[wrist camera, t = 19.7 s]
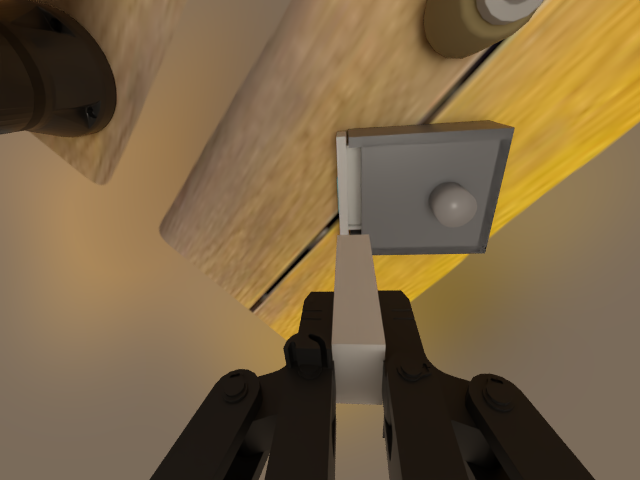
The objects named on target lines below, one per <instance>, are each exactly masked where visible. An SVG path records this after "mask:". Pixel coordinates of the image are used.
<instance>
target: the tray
mask: <svg viewBox="0 0 640 480" xmlns="http://www.w3.org/2000/svg"><path fill="white" fill-rule="evenodd" d="M336 144H337V169H338V177H337V192H338V213H339V218H340V235H349V231H348V230H356V229H361V194H360V184H361V147H359V148H349V143H346V131H340V132H337V135H336Z"/></svg>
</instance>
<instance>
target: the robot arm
mask: <svg viewBox="0 0 640 480" xmlns="http://www.w3.org/2000/svg"><path fill="white" fill-rule="evenodd" d="M115 104H116V89H115V83H114V78H113V75H112V72H111V69H110V66H109V64H108V62H107V60H106V58H105V56H104V54H103V52H102V51H101V49H100V47H99V46H98V44H97V43H96V42H95V40H94V39H93V38H92V37H91V35H90V34H89V33H88V32H87V31H86V30H85V29H84V28H83V27H82V26H81V25H80V24H79V23H78V22H76V21H75V20H74V19H73V18H71V17H70V16H68V15H67V14H65V13H64V12H62V11H60V10H58V9H56V8H54V7H51V6H48V5H45V4H41V3H37V2H33V1H29V0H2V1H0V134H6V133H12V132H17V131H24V130H26V131H31V132H37V133H43V134H49V135H55V136H61V137H79V136H83V135H88V134H92V133H95V132H98V131H99V130H101V129H102V128H104V127H105V126H106V125H107V124H108V122H109V121H110V119H111V118H112V115H113V113H114V109H115ZM283 349H284V354H285V360H286V366H285V367H283V368H282V369H280V370H278V371H275V372H273V373H269V374H266V375H263V376H259V377H257V376H256V374H255V373H253V372H251V371H249V370H245V369H238V370H235V371H231V372H229V373H228V374H226V375H224V376H223V377H221V379H220V380H219V381H218V382H217V383H216V384H215V385H214V387H213V388H212V390H211V391H210V393H209V394H208V396H207V397H206V399H205V400H204V401H203V403H202V404H201V406H200V407H199V409H198V410H197V412H196V413H195V415H194V416H193V417H192V419H191V420H190V422H189V423H188V425H187V426H186V428H185V429H184V431H183V432H182V433H181V435H180V436H179V438H178V439H177V441H176V442H175V444H174V445H173V447H172V448H171V449H170V451H169V452H168V454H167V455H166V457H165V458H164V460H163V461H162V462H161V464H160V465H159V467H158V468H157V470H156V471H155V473H154V474H153V476H152V477H151V478H150V480H259V477H260V475H261V473H262V470H263V468H264V465H265V463H266V461H267V458H268V456H269V460H268V465H267V470H266V475H265V480H335V451H336V403H346V404H348V403H349V404H377V405H382V402H383V407H384V426H383V438H385V441H386V451H387V460H388V469H389V478H390V480H595V479H594V478H593V477H592V475H591V474H590V473H589V472H588V470H587V469H586V468H585V467H584V466H583V465H582V463H581V462H580V461H579V460H578V459H577V457H576V456H575V455H574V454H573V452H572V451H571V450H570V449H569V448H568V447H567V446H566V444H565V443H564V442H563V441H562V439H561V438H560V437H559V436H558V435H557V434H556V432H555V431H554V430H553V428H552V427H551V426H550V425H549V424H548V423H547V421H546V420H545V419H544V418H543V417H542V415H541V414H540V413H539V412H538V411H537V410H536V408H535V407H534V406H533V405H532V403H531V402H530V401H529V400H528V399H527V397H526V396H525V395H524V394H523V393H522V391H521V390H519V389H518V388H517V387H516V386H515V385H514V384H513V383H511V382H510V381H508V380H506V379H504V378H503V377H500V376H497V375H493V374H479V375H477V376H475V377H473V378H472V380H471V381H467V380H464V379H460V378H457V377H454V376H451V375H448V374H445V373H443V372H442V371H440V370H438V369H437V368H436V367H434V366H433V365H432V363H431V362H429V360H428V359H427V357H426V355H425V353H424V349H423V346H422V343H421V339H420V336H419V332H418V329H417V325H416V322H415V320H414V315H413V312H412V308H411V304H410V301H409V299H408V298H407V297H406V295H405V294H404V293H403V292H402V291H401V290H400V291H377V284H376V278H375V271H374V264H373V258H372V251H371V245H370V238H369V234H366V235H337V251H336V270H335V288H334V292H311V293H310V294H309V295H308V296H307V298H306V299H305V300H304V305H303V312H302V316H301V321H300V326H299V332H298V333H297V334H295V335H293V336H292V337H290V338H289V339H288V340H287V342H286V344H285V346H284V348H283ZM269 453H270V455H269Z"/></svg>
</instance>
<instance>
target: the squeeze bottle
mask: <svg viewBox="0 0 640 480" xmlns="http://www.w3.org/2000/svg"><path fill="white" fill-rule="evenodd" d="M542 2H543V0H427V2H426V8H425V14H424V20H423V21H424V27H425V34H426V38H427V40H428V41H429V43H430V45H431V46H432V48H433V49H434V51H436V52H438V53H439V54H441V55H443V56H444V57H446V58H460V59H462V58H464V57H467V56H470V55H472V54H475V53H477V52H479V51H481V50H483V49H485V48H487V47H489V46H491V45H493V44H495V43H497V42H499V41H501V40H503V39H505V38H507V37H509V36H511V35H513V34H514V33H515V32H516V31H518V30H519V29H520V28H521V27H522V26H523V25H525V24H526V23H527V22H528V21H529V20H530V18H531V17H532V15H533V14H534V12H535V11H536V9H537V8H538V7H539V6H540V5H541V3H542Z"/></svg>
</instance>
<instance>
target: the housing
mask: <svg viewBox="0 0 640 480" xmlns="http://www.w3.org/2000/svg"><path fill="white" fill-rule="evenodd" d="M513 133H514V127H511V126H507V125H504V124H500V123H496V122H493V121H489V120H487V121H471V122H455V123H439V124H423V125H406V126H390V127H374V128H358V129H348V143H349V148H359V147H361V229H356V230H350V235H366V234H369V238H370V245H371V251H372V255H415V254H471V253H485V251H486V247H487V242H488V238H489V234H490V230H491V226H492V221H493V217H494V213H495V209H496V204H497V200H498V196H499V192H500V188H501V183H502V179H503V175H504V171H505V166H506V162H507V158H508V154H509V149H510V145H511V141H512V137H513Z"/></svg>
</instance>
